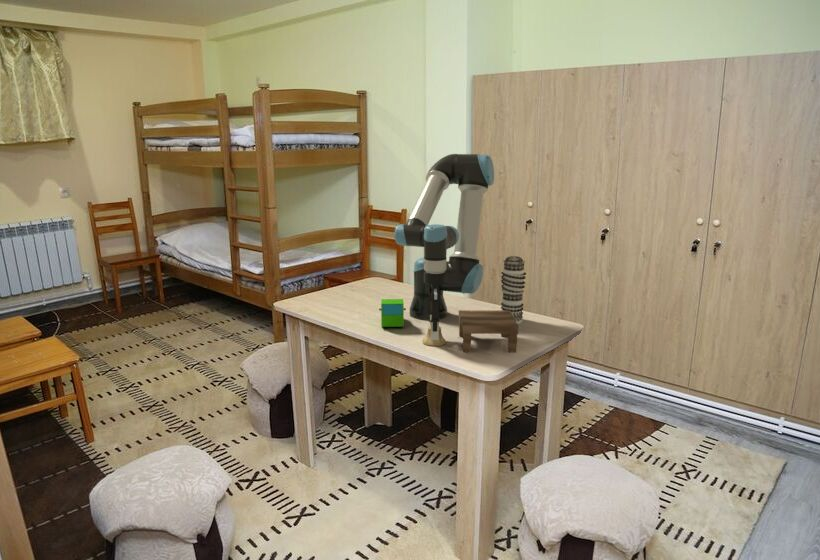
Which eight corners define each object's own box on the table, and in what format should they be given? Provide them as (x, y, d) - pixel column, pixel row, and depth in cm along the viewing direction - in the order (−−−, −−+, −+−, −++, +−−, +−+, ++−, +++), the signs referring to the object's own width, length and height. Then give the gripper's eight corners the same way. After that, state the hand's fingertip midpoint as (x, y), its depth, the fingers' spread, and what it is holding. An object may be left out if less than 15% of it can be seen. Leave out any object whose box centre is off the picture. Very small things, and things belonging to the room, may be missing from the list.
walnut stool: (458, 334, 204) (458, 310, 202) (508, 334, 204) (509, 310, 202) (462, 352, 186) (463, 326, 184) (517, 352, 186) (518, 326, 184)
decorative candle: (522, 325, 214) (525, 260, 208) (497, 323, 216) (500, 259, 210) (524, 318, 222) (528, 255, 216) (501, 316, 225) (503, 254, 219)
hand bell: (449, 339, 198) (449, 295, 194) (441, 347, 191) (442, 302, 187) (426, 336, 201) (427, 293, 197) (418, 344, 194) (419, 299, 190)
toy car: (405, 318, 222) (405, 293, 220) (406, 329, 209) (406, 303, 207) (379, 318, 222) (379, 294, 219) (378, 329, 209) (378, 303, 206)
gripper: (423, 265, 199) (422, 327, 205) (424, 277, 181) (424, 346, 186) (444, 265, 199) (443, 327, 205) (448, 277, 181) (446, 346, 186)
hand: (434, 336), depth 195 cm, fingers closed on hand bell, 6 cm apart
